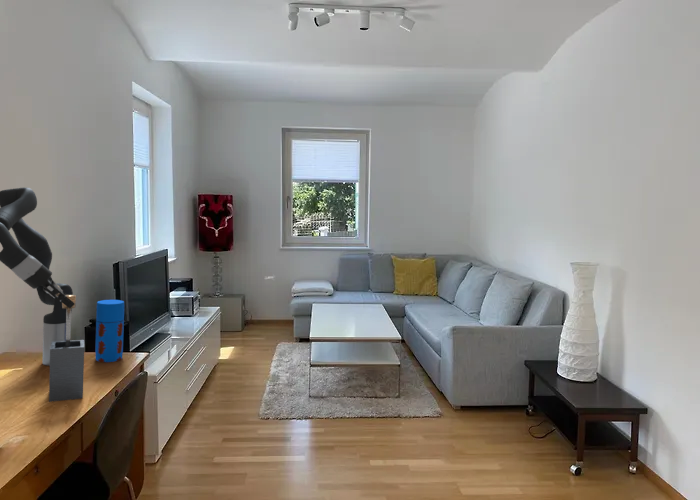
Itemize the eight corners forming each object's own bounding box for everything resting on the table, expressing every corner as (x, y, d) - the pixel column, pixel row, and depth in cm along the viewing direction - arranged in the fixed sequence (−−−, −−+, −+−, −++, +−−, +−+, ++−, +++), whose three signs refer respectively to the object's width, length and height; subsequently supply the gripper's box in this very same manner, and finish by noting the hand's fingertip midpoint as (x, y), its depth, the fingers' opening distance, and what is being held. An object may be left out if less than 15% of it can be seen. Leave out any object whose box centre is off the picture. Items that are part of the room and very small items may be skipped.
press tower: (50, 391, 172) (51, 341, 171) (82, 388, 177) (84, 339, 176) (48, 401, 164) (50, 349, 162) (82, 398, 168) (84, 347, 167)
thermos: (111, 363, 206) (113, 305, 204) (89, 360, 208) (90, 302, 207) (127, 356, 217) (129, 301, 215) (106, 353, 219) (108, 298, 217)
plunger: (56, 366, 171) (58, 294, 169) (78, 364, 174) (80, 294, 172) (55, 372, 165) (57, 297, 164) (78, 370, 168) (80, 297, 167)
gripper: (21, 276, 165) (59, 307, 173) (22, 282, 154) (64, 316, 161) (40, 261, 168) (77, 292, 175) (42, 266, 156) (82, 299, 164)
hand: (70, 303), depth 168 cm, fingers open, 8 cm apart
